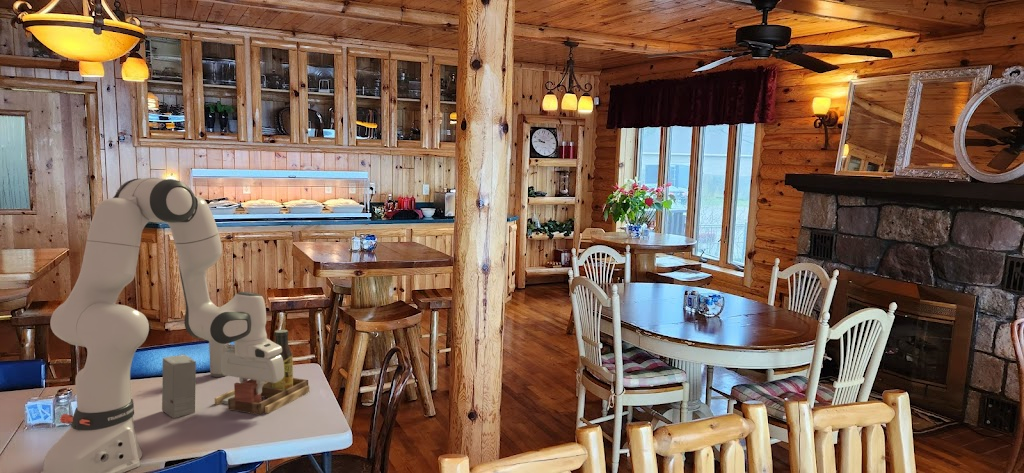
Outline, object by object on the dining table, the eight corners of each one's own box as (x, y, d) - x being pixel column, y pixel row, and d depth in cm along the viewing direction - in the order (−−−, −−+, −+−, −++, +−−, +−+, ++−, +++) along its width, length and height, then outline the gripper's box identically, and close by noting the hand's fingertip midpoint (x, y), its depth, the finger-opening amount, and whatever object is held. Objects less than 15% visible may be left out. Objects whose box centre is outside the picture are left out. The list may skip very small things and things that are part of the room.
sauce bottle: (289, 397, 204) (287, 334, 202) (268, 397, 204) (266, 333, 202) (296, 389, 210) (294, 328, 208) (276, 389, 210) (274, 328, 208)
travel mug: (205, 377, 222) (203, 318, 219) (217, 370, 228) (215, 313, 226) (223, 378, 221) (220, 319, 218) (234, 371, 227) (232, 314, 225)
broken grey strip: (232, 405, 197) (231, 385, 196) (222, 403, 198) (221, 383, 198) (272, 386, 213) (271, 368, 213) (262, 384, 215) (262, 366, 214)
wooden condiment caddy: (259, 414, 189) (258, 387, 188) (228, 409, 193) (227, 382, 192) (308, 389, 210) (307, 364, 209) (279, 384, 214) (279, 360, 213)
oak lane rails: (267, 413, 191) (267, 407, 191) (214, 404, 197) (214, 398, 197) (309, 392, 209) (309, 385, 208) (259, 384, 215) (259, 378, 215)
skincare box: (161, 411, 192) (158, 358, 190) (187, 404, 197) (184, 352, 195) (172, 419, 186) (170, 364, 184) (199, 412, 191) (196, 359, 190)
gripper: (214, 345, 193) (216, 391, 195) (272, 353, 186) (273, 401, 188) (230, 340, 199) (232, 385, 201) (286, 347, 192) (288, 393, 194)
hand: (252, 392), depth 194 cm, fingers closed on wooden condiment caddy, 2 cm apart
